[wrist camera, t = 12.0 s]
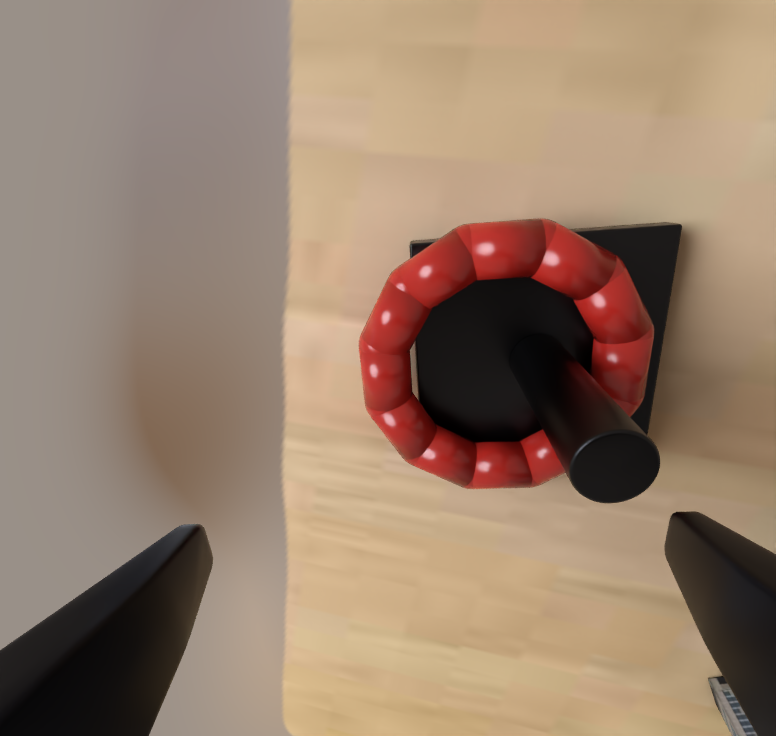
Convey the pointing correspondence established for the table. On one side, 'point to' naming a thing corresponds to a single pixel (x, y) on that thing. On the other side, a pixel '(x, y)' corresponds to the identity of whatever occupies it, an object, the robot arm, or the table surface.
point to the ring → (486, 262)
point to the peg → (548, 366)
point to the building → (730, 708)
